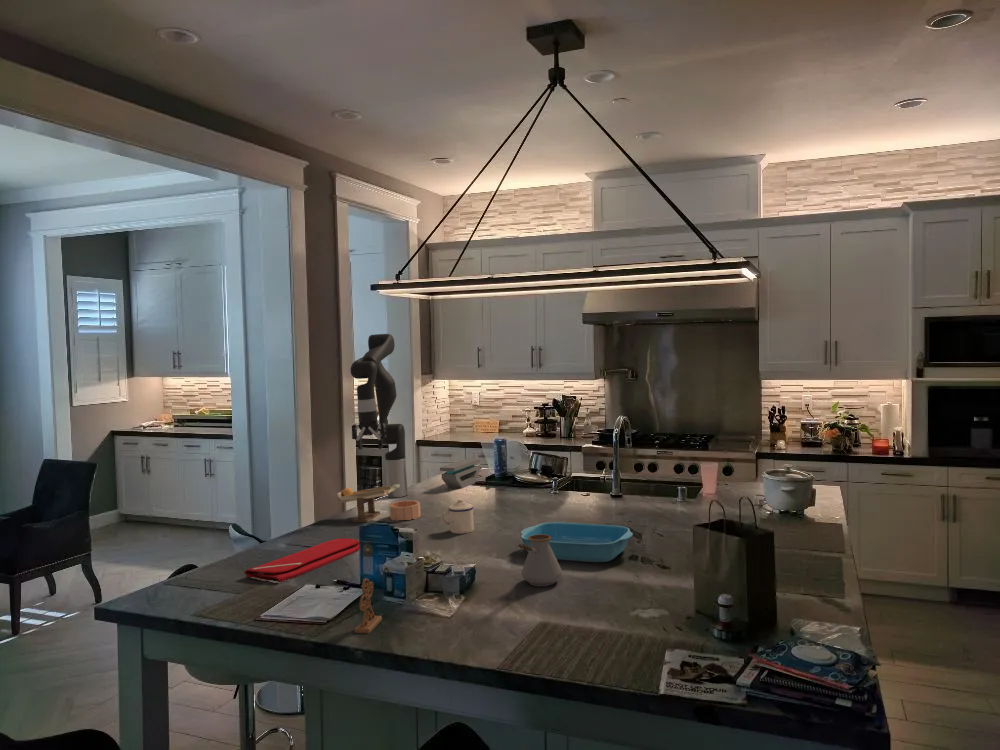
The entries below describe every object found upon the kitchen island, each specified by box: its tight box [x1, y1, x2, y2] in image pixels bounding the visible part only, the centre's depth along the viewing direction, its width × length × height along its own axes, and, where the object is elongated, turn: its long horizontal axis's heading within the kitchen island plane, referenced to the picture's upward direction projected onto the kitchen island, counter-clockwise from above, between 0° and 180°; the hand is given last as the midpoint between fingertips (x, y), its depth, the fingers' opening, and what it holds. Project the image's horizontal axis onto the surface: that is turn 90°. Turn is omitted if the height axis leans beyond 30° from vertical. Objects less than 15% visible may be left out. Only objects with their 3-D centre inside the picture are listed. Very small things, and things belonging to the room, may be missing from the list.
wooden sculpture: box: [354, 577, 383, 634], centre depth 186 cm, size 9×4×12 cm, turn 168°
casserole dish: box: [520, 521, 634, 563], centre depth 237 cm, size 37×22×7 cm, turn 63°
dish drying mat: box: [244, 537, 360, 582], centre depth 245 cm, size 16×41×4 cm, turn 150°
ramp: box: [336, 484, 400, 504], centre depth 307 cm, size 18×20×4 cm
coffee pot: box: [514, 534, 563, 587], centre depth 206 cm, size 21×12×15 cm, turn 156°
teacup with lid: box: [440, 498, 475, 535], centre depth 273 cm, size 12×9×12 cm
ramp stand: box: [352, 497, 381, 523], centre depth 302 cm, size 14×6×10 cm, turn 169°
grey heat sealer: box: [439, 457, 481, 489], centre depth 358 cm, size 25×8×11 cm, turn 153°
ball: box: [342, 487, 354, 496], centre depth 303 cm, size 4×4×4 cm
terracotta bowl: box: [388, 500, 422, 521], centre depth 299 cm, size 12×12×6 cm
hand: (370, 449), depth 305 cm, fingers open, 8 cm apart
